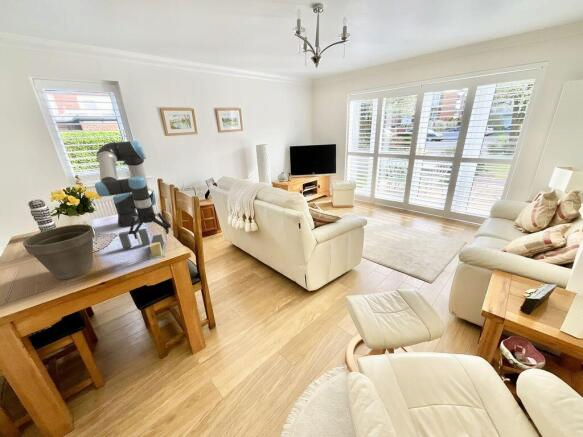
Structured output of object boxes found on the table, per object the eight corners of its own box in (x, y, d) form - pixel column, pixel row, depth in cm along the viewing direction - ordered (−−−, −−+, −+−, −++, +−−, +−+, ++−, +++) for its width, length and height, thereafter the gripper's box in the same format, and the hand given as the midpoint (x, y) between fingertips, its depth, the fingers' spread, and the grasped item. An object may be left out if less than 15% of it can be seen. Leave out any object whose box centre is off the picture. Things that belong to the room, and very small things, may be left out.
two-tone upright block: (155, 244, 148) (153, 235, 145) (163, 242, 149) (161, 234, 147) (152, 256, 134) (149, 247, 132) (161, 254, 135) (158, 245, 133)
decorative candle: (61, 233, 169) (46, 199, 159) (44, 238, 161) (27, 203, 152) (57, 230, 173) (42, 197, 164) (40, 235, 166) (23, 201, 156)
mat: (152, 245, 147) (152, 245, 147) (167, 242, 150) (166, 242, 150) (148, 259, 132) (148, 259, 131) (164, 256, 134) (164, 256, 134)
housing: (124, 247, 146) (119, 232, 142) (150, 242, 151) (146, 228, 147) (123, 249, 143) (118, 234, 140) (149, 244, 148) (145, 230, 144)
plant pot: (104, 253, 140) (91, 219, 131) (106, 272, 122) (91, 234, 113) (46, 269, 125) (27, 232, 117) (39, 293, 107) (16, 252, 99)
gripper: (114, 212, 119) (127, 248, 127) (169, 205, 127) (177, 239, 136) (118, 207, 125) (130, 242, 133) (170, 200, 133) (178, 234, 142)
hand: (154, 241), depth 134 cm, fingers open, 13 cm apart
